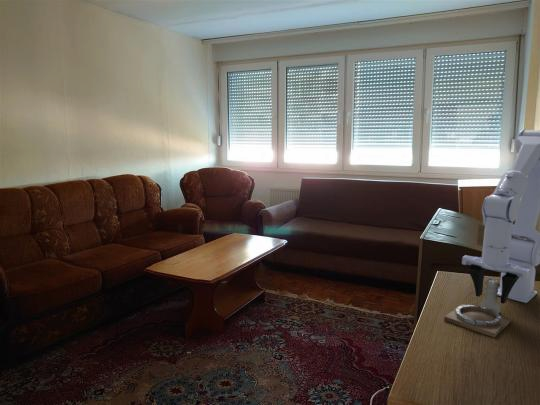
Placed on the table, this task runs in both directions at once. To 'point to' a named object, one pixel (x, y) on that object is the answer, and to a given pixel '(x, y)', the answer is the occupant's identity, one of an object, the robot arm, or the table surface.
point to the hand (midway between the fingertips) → (490, 298)
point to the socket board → (478, 319)
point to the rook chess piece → (491, 295)
